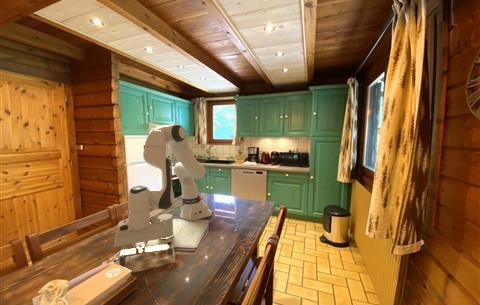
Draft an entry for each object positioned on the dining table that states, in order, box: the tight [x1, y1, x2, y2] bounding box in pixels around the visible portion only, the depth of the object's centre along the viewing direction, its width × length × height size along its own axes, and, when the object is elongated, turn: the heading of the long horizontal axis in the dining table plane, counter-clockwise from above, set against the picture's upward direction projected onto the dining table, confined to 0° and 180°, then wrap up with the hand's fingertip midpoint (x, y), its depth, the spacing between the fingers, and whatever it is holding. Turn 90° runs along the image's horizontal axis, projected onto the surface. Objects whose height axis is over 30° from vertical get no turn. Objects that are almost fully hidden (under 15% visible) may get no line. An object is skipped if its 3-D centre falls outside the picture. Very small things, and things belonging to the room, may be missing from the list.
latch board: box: [117, 239, 176, 274], centre depth 93 cm, size 24×12×7 cm, turn 113°
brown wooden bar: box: [119, 243, 171, 257], centre depth 93 cm, size 22×4×2 cm, turn 114°
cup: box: [157, 213, 174, 238], centre depth 115 cm, size 8×8×12 cm
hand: (140, 250), depth 92 cm, fingers closed
